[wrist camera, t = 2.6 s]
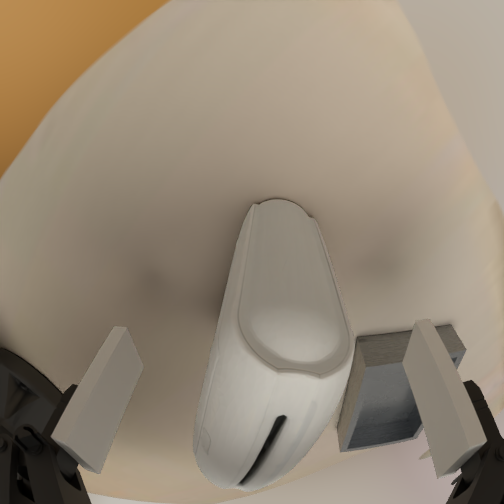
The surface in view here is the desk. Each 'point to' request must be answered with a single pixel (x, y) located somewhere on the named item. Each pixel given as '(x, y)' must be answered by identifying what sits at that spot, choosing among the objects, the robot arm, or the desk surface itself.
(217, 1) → the desk surface
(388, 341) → the grey rectangular tray
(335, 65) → the desk surface
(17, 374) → the robot arm
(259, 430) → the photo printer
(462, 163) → the desk surface
